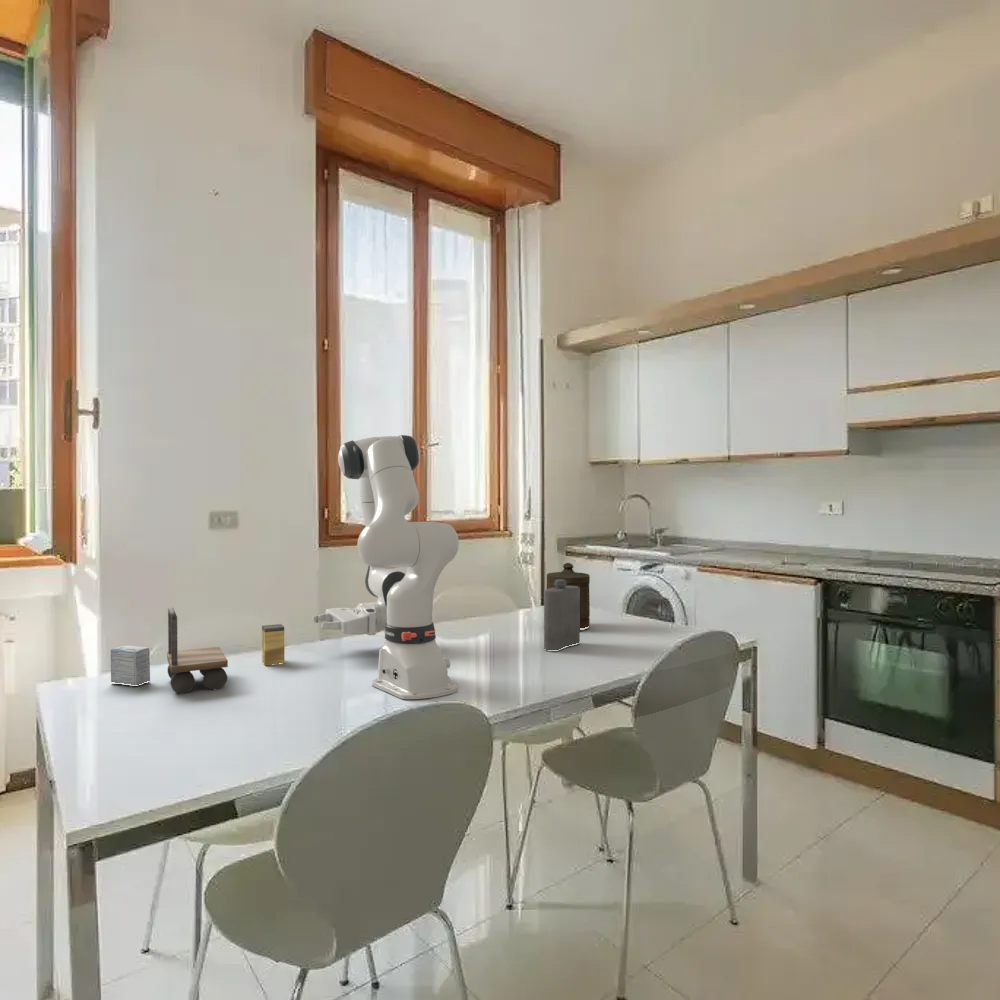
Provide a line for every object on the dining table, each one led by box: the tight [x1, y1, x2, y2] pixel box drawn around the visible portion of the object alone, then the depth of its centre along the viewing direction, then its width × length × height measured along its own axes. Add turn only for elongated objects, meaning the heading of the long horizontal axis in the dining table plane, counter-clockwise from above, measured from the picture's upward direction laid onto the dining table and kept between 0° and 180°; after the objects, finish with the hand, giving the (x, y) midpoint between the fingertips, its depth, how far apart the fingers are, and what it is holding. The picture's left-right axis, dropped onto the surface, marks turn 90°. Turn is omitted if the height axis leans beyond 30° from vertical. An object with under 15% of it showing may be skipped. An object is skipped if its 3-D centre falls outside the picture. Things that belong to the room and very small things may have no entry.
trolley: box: [166, 606, 229, 694], centre depth 166 cm, size 16×12×18 cm
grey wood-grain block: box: [110, 645, 151, 685], centre depth 167 cm, size 8×4×9 cm, turn 71°
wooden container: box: [546, 562, 591, 628], centre depth 235 cm, size 15×15×22 cm
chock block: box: [261, 623, 285, 666], centre depth 187 cm, size 4×5×10 cm
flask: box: [543, 579, 581, 650], centre depth 206 cm, size 15×6×20 cm, turn 141°
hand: (317, 622), depth 193 cm, fingers open, 8 cm apart
